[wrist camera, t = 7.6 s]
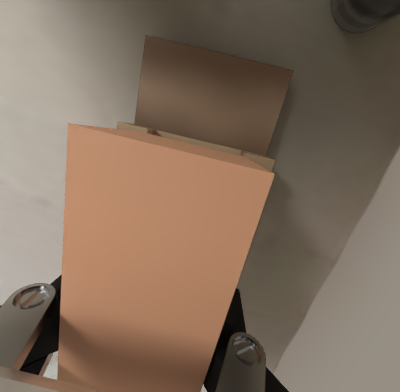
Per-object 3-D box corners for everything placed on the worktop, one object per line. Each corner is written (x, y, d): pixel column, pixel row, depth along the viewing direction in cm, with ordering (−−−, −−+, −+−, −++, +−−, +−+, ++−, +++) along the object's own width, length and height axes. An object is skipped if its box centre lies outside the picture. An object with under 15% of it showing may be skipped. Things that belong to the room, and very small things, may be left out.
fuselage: (141, 131, 10) (64, 122, 5) (245, 156, 10) (277, 174, 5) (111, 345, 13) (51, 462, 9) (184, 363, 13) (167, 491, 9)
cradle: (152, 44, 16) (125, 3, 11) (286, 76, 16) (317, 50, 11) (117, 299, 23) (92, 341, 19) (208, 321, 23) (207, 368, 19)
